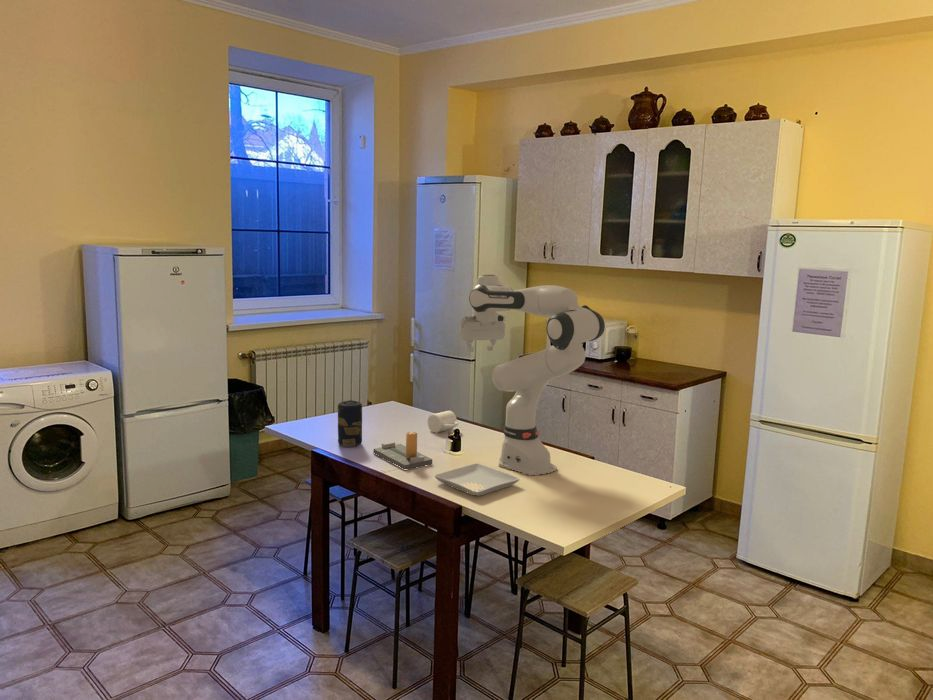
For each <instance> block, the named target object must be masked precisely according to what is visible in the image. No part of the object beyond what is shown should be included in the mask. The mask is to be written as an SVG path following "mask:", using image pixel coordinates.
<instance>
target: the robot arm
mask: <svg viewBox="0 0 933 700" xmlns="http://www.w3.org/2000/svg"><path fill="white" fill-rule="evenodd" d="M468 301H469V304H470V306H471V307H472V315H469V316H468V315H467V316H464V317H463V318H462V319H461V323H460V327H459V332H458V333H459V334H458V338H459V340H461V341H465V342H466V345H467V347H468V349H467V351H468V352H469V353H473V352H474V351H475V350H474V349H475V347H474V346H473V345H472V344H473V341H490V343H489V345H487V348H486V349H487V351H489V352H492V351H493V350H494V346H495V345H496V343H497V340H503V339H504V338H505V335H506V334H505V333H506V323H505V321H506V316H505V315H502V314H500V313H498V312H508V311H511V310H515V311H519V312H522V313H527V314H531V315H535V316H537V317H546V318H548V320H547V321H546V329H545V330H546V334H547V336H548V339H549V341H550V343H551V345H550V346H549V347H546V348H544V349H542V350H539V351H537V352H533V353H530V354H526V355H524V356H521V357H518V358H514V359H512V360H509V361H508V360H507V361H506V362H502V363H499V364H497V365H496V366H494V369H493V370H492V374H491V381H492V383H493V386H494V387H495V388H496V389H497V390H498V391H500V392H510V393H511V392H513V393H514V392H515V394H514V396H513V397H512V398H511V399H510V400H509V401H508V402H507V404H506V407H505V424H504V427H503V435H504V438H503V443H502V446H501V448H502V449H501V454H500V458H499V462H498V467H500V466H502V467H501V468H504V467H505V468H504V469H507V468H508V469H507V470H510V469H512V470H511V471H513V470H515V471H514V472H516V471H518V472H517V473H520V472H522V473H521V474H523V473H525V474H524V475H526V474H529V475H528V476H530V475H535V476H541V475H540V474H543V475H546V473H548V474H550V472H551V473H554V472H556V471H557V469H558V467H557V466H556V465H555V464H554V463H552V461H551V454H550V453H551V452H550V451H549V450H548V448H546V446H545V445H544V443H543V442H542V441H541V440H540V438H539V435H541V430H538V429H537V426H536V418H537V408H538V403H539V400H540V397H541V395H542V393H543V391H544V389H545V388H546V386H548V384H549V383H550V382H551V381H552V380H555V379H558V378H560V377H563V376H565V375H569V374H570V373H572V372H574V371H576V370H577V369H578V368H580V367H581V366H582V365H583V364H584V363H585V360H586V351H585V348H584V347H583V345H584V343H586V342H593V341H596V340H598V339H599V338H601V336H602V335H603V334H604V332H605V327H606V324H605V321H604V318H603V316H602V315H601V314H600V313H599V312H597V311H596V310H594V309H591V307H589V306H588V305H579V303H578V301H579V300H578V296H577V294H576V292H575V291H574V290H572V289H571V288H568V287H565V286H561V285H552V284H551V285H550V284H549V285H548V284H545V285H537V286H531V287H527V288H521V289H514V290H513V289H512V287H510V286H507V285H506V284H504V283H503V282H501V280H499V277H498V275H495V274H481V275H479V276H478V277H477V279H476V282H475V286H474V287H473V288H472V290H471V291H470V293H469V296H468ZM553 471H554V472H553Z"/></svg>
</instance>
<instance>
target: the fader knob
mask: <svg viewBox="0 0 933 700" xmlns="http://www.w3.org/2000/svg"><path fill="white" fill-rule="evenodd" d="M405 433H406V434H405V436H406V439H405V446H406V458H408V459H410V458H413V457H417V452H418V432H416V431H408V432H405Z"/></svg>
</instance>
